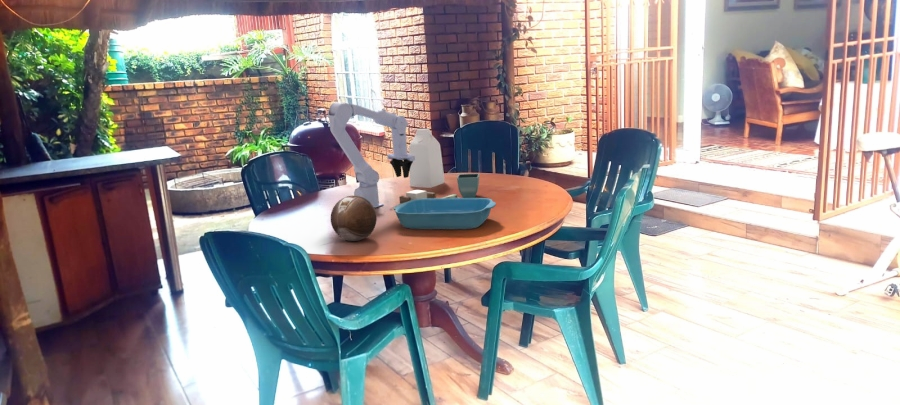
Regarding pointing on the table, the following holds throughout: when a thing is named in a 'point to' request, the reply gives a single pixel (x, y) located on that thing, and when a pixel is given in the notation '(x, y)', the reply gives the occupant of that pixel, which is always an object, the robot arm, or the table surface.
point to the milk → (426, 160)
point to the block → (417, 194)
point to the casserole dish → (444, 213)
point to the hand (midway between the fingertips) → (402, 177)
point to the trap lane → (429, 195)
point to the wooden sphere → (353, 218)
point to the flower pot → (468, 185)
